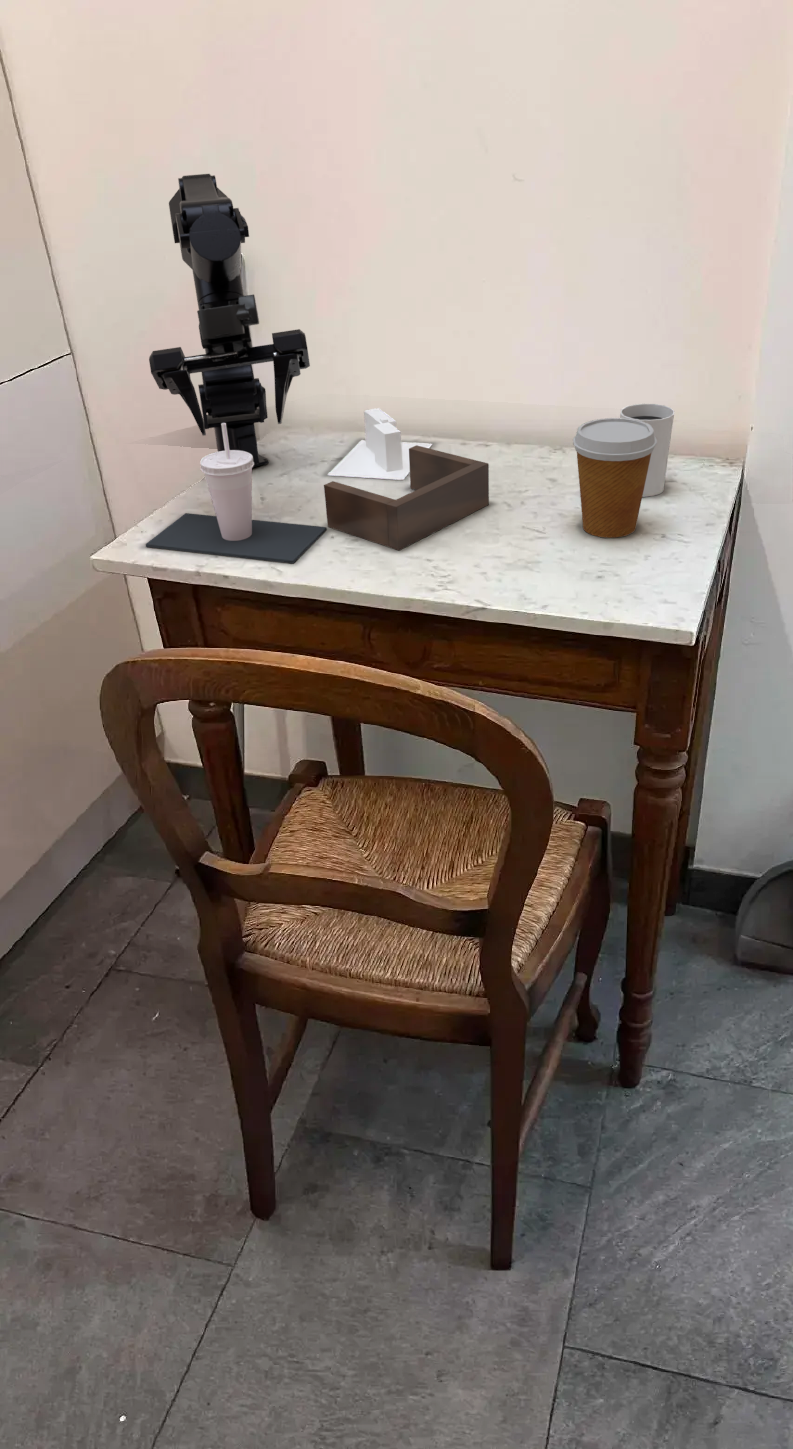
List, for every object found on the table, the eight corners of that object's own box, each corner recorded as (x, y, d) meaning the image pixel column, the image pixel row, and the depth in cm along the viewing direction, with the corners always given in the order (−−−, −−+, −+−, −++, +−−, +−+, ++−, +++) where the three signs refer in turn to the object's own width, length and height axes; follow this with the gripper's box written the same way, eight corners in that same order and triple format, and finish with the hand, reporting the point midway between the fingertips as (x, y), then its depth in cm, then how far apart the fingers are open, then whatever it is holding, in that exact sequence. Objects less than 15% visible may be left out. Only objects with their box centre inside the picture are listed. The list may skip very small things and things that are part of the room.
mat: (145, 547, 131) (145, 544, 131) (186, 515, 138) (185, 513, 138) (293, 563, 124) (293, 560, 124) (326, 530, 132) (326, 527, 132)
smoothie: (226, 549, 128) (209, 435, 120) (201, 534, 132) (184, 422, 124) (272, 535, 131) (258, 422, 123) (246, 520, 135) (232, 410, 127)
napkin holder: (360, 439, 160) (357, 401, 157) (433, 443, 157) (431, 404, 154) (326, 475, 148) (322, 435, 145) (404, 480, 145) (402, 439, 142)
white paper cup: (645, 502, 134) (652, 424, 129) (604, 489, 138) (609, 413, 133) (678, 487, 138) (685, 410, 132) (636, 475, 142) (642, 400, 136)
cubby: (327, 526, 133) (323, 484, 130) (418, 484, 143) (416, 445, 140) (399, 550, 126) (396, 507, 123) (489, 504, 136) (488, 463, 133)
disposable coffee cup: (631, 549, 123) (639, 448, 116) (556, 535, 127) (559, 437, 121) (661, 519, 129) (670, 422, 123) (588, 507, 134) (593, 412, 127)
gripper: (130, 283, 120) (150, 417, 119) (293, 259, 121) (315, 392, 120) (150, 325, 131) (169, 448, 131) (299, 303, 132) (319, 425, 131)
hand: (241, 428), depth 128 cm, fingers open, 9 cm apart
